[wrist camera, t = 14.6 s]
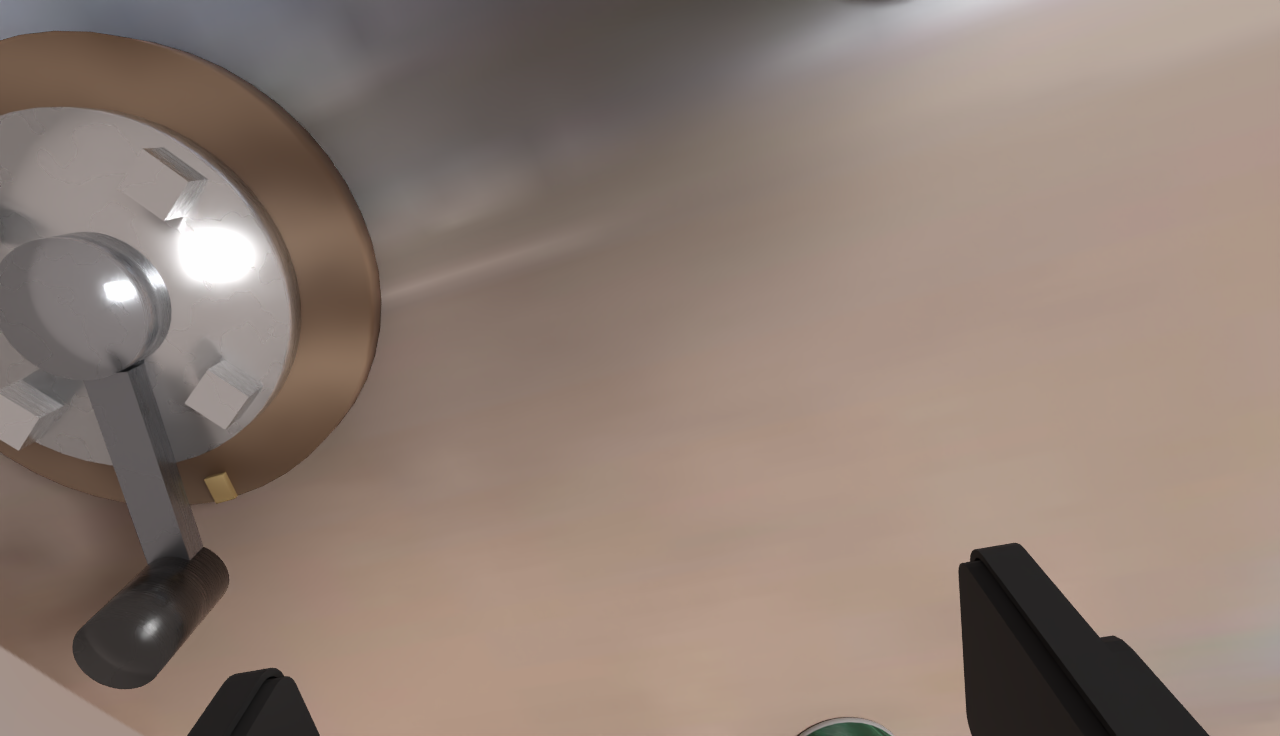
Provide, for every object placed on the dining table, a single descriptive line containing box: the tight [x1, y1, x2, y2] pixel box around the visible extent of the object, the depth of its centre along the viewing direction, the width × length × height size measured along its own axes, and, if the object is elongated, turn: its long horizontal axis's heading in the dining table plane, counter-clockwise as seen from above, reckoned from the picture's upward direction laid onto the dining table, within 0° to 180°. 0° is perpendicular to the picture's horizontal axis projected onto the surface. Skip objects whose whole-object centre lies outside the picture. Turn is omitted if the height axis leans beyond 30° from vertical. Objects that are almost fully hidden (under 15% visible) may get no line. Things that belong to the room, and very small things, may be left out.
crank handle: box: [0, 107, 301, 689], centre depth 32 cm, size 24×16×7 cm
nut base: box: [0, 31, 381, 505], centre depth 35 cm, size 22×22×2 cm
